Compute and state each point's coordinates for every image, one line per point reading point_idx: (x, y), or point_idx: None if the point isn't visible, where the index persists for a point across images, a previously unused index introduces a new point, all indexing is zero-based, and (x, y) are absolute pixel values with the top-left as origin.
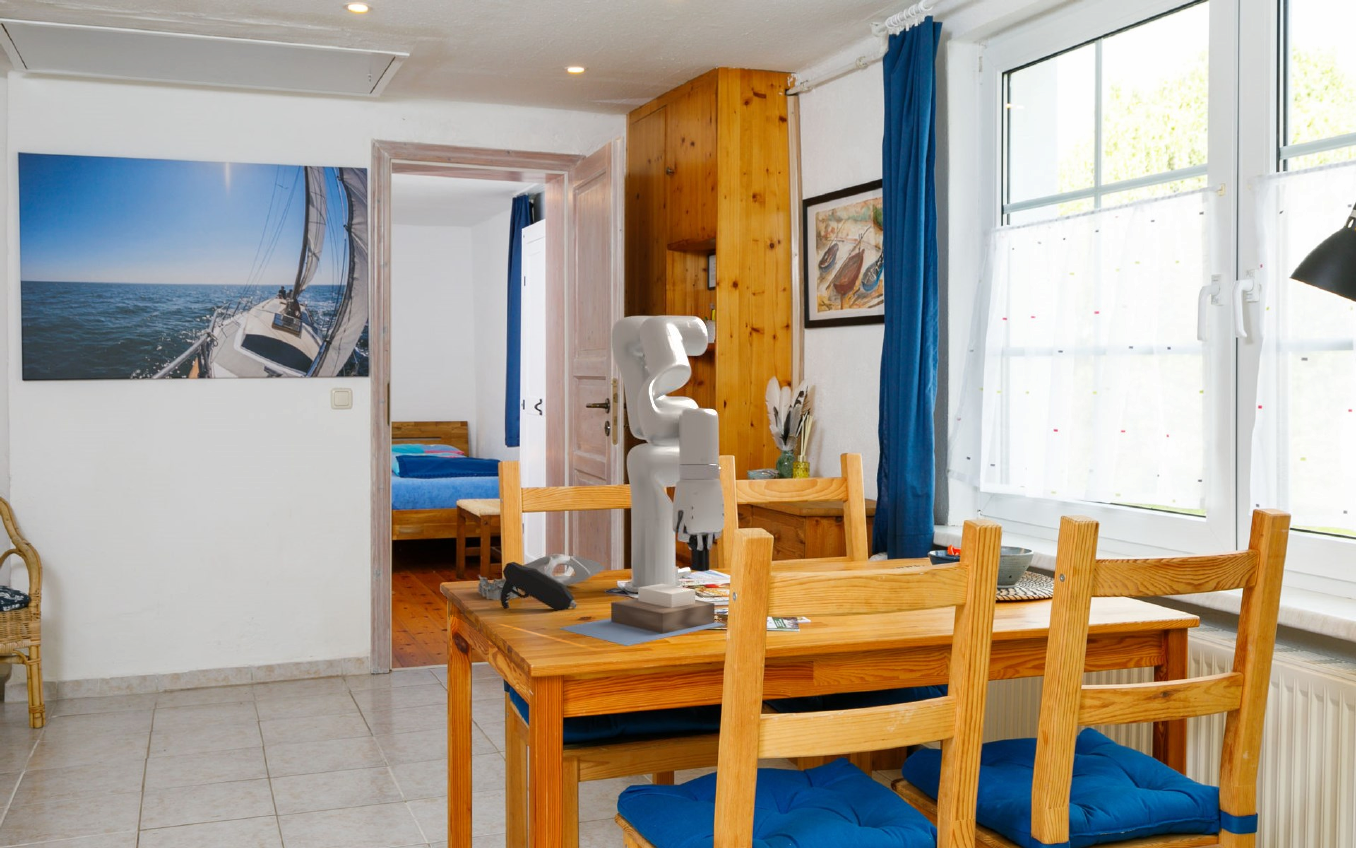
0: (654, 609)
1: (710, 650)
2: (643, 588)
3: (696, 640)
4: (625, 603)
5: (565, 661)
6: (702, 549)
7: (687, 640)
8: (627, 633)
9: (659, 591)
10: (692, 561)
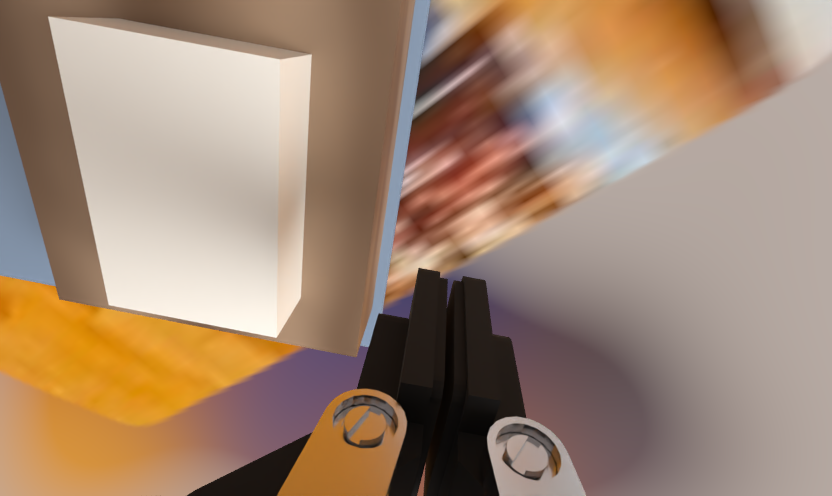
0: (71, 230)
1: (133, 424)
2: (62, 74)
3: (175, 356)
4: (13, 5)
5: None
6: (445, 477)
7: (154, 338)
8: (10, 156)
9: (95, 218)
10: (374, 336)
